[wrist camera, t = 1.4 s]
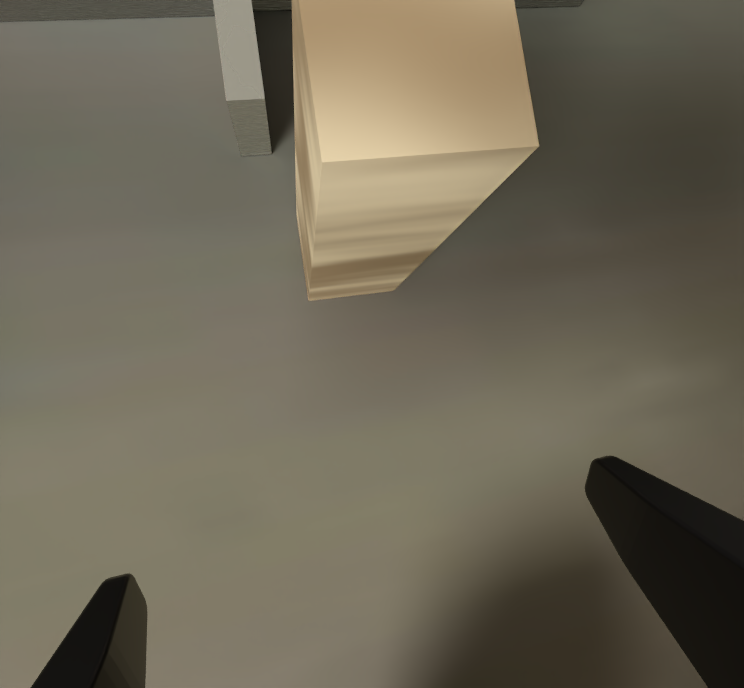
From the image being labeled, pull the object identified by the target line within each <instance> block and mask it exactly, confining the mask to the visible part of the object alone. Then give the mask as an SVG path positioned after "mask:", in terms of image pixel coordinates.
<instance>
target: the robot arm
mask: <svg viewBox="0 0 744 688" xmlns="http://www.w3.org/2000/svg"><path fill="white" fill-rule="evenodd" d="M585 492H586V496H587V498H588V500H589V502H590V504H591V505H592V507H593V509H594V511H595V513H596V514H597V516H598V518H599V520H600V522H601V523H602V525H603V527H604V529H605V531H606V532H607V534H608V536H609V538H610V540H611V542H612V543H613V545H614V547H615V549H616V551H617V552H618V554H619V556H620V558H621V559H622V561H623V563H624V564H625V566H626V567H627V569H628V571H629V572H630V574H631V575H632V577H633V578H634V580H635V581H636V583H637V584H638V585H639V587H640V588H641V590H642V591H643V593H644V594H645V596H646V597H647V599H648V600H649V602H650V603H651V604H652V606H653V607H654V609H655V610H656V612H657V613H658V615H659V616H660V618H661V619H662V621H663V622H664V623H665V625H666V626H667V628H668V629H669V631H670V632H671V634H672V635H673V637H674V638H675V640H676V641H677V642H678V644H679V645H680V647H681V648H682V650H683V651H684V653H685V654H686V656H687V657H688V659H689V660H690V662H691V663H692V664H693V666H694V667H695V669H696V670H697V672H698V673H699V675H700V676H701V678H702V679H703V681H704V682H705V683H706V685H707V686H708V688H744V521H743V520H741V519H739V518H737V517H735V516H733V515H731V514H729V513H727V512H725V511H723V510H721V509H719V508H717V507H715V506H713V505H711V504H709V503H707V502H705V501H703V500H701V499H699V498H697V497H695V496H693V495H691V494H689V493H687V492H685V491H683V490H681V489H679V488H677V487H675V486H673V485H671V484H669V483H667V482H665V481H663V480H661V479H659V478H657V477H655V476H653V475H651V474H649V473H647V472H645V471H643V470H641V469H639V468H637V467H635V466H633V465H631V464H629V463H627V462H625V461H623V460H621V459H619V458H617V457H614V456H605V457H601V458H597V459H594V460H593V461H592V462H591V465H590V469H589V472H588V476H587V480H586V484H585ZM146 642H147V605H146V601H145V598H144V596H143V594H142V592H141V590H140V588H139V586H138V584H137V582H136V580H135V578H134V577H133V575H131V574H123V575H119V576H115V577H111V578H108V579H106V580H105V581H104V582H103V583H102V584H101V585H100V587H99V588H98V590H97V591H96V593H95V594H94V595H93V597H92V598H91V600H90V601H89V603H88V604H87V606H86V607H85V609H84V610H83V612H82V613H81V615H80V616H79V617H78V619H77V620H76V622H75V623H74V625H73V626H72V628H71V629H70V631H69V632H68V634H67V635H66V637H65V638H64V640H63V641H62V642H61V644H60V645H59V647H58V648H57V650H56V651H55V653H54V654H53V656H52V657H51V659H50V660H49V662H48V663H47V665H46V666H45V667H44V669H43V670H42V672H41V673H40V675H39V676H38V678H37V679H36V681H35V682H34V684H33V685H32V687H31V688H145V677H146Z"/></svg>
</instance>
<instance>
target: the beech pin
mask: <svg viewBox="0 0 744 688" xmlns="http://www.w3.org/2000/svg"><path fill="white" fill-rule="evenodd" d="M292 36H293V79H294V123H295V166H296V210H297V222H298V229H299V236H300V244H301V251H302V258H303V265H304V272H305V279H306V287H307V294H308V301H313V300H321V299H329V298H337V297H346V296H354V295H362V294H371V293H379V292H387V291H394V290H395V289H396V288H397V287H398V286H399V285H400V284H401V283H402V282H403V281H404V280H405V279H406V278H407V277H408V276H409V275H410V274H411V273H412V272H413V271H414V270H415V269H416V268H417V267H418V266H419V265H420V264H421V263H422V262H423V261H424V260H425V259H426V258H427V257H428V256H429V255H430V254H431V253H432V252H433V251H434V250H435V249H436V248H437V247H438V246H439V245H440V244H441V243H442V242H443V241H444V240H445V239H446V238H447V237H448V236H449V235H450V234H451V233H452V232H453V231H454V230H455V229H456V228H457V227H458V226H459V225H460V224H461V223H462V222H463V221H464V220H465V219H466V218H467V217H468V216H469V215H470V214H471V213H472V212H473V211H474V210H475V209H476V208H477V207H478V206H479V205H480V204H481V203H482V202H483V201H484V200H485V199H486V198H487V197H488V196H489V195H490V194H491V193H492V192H493V191H494V190H495V189H496V188H497V187H499V186H500V185H501V184H502V183H503V182H504V181H505V180H506V179H507V178H508V177H509V176H510V175H511V174H512V173H513V172H514V171H515V170H516V169H517V168H518V167H519V166H520V165H521V164H522V163H523V162H524V161H525V160H526V159H527V158H528V157H529V156H530V155H531V154H532V153H533V152H534V151H535V150H536V149H537V148H538V147H539V142H538V136H537V130H536V125H535V119H534V113H533V107H532V101H531V95H530V90H529V84H528V78H527V72H526V66H525V60H524V55H523V49H522V43H521V37H520V31H519V25H518V20H517V14H516V8H515V2H514V0H292Z"/></svg>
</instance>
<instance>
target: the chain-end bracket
mask: <svg viewBox="0 0 744 688" xmlns="http://www.w3.org/2000/svg"><path fill="white" fill-rule="evenodd" d="M583 1H584V0H514V2H515V8H527V7H564V6H580V5H581V3H582V2H583ZM262 10H292V0H0V21H37V20H75V19H113V18H150V17H188V16H215V19H216V27H217V34H218V42H219V49H220V57H221V64H222V72H223V79H224V87H225V94H226V101H227V105H228V109H229V113H230V117H231V120H232V124H233V128H234V132H235V136H236V139H237V143H238V147H239V151H240V155H241V156H252V155H265V154H272V152H271V144H270V136H269V128H268V120H267V112H266V104H265V96H264V89H263V81H262V74H261V67H260V60H259V52H258V45H257V38H256V31H255V23H254V16H253V11H262Z"/></svg>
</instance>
